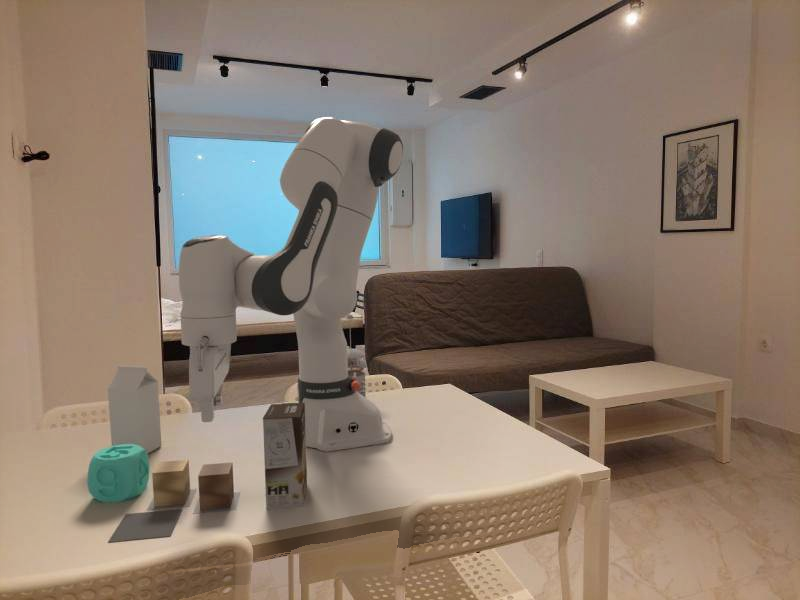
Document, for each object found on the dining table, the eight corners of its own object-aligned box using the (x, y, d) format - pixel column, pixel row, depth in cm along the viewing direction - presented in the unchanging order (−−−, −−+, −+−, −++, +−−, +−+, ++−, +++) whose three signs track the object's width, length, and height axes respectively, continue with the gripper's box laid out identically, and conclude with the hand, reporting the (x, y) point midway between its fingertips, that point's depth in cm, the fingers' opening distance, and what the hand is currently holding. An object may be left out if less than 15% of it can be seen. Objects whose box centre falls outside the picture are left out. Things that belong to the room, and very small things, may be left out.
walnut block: (234, 494, 101) (232, 462, 100) (230, 507, 96) (229, 473, 96) (204, 497, 100) (203, 464, 100) (199, 510, 95) (198, 476, 95)
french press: (330, 406, 156) (327, 316, 154) (341, 395, 168) (339, 311, 165) (364, 407, 155) (363, 317, 152) (373, 396, 166) (372, 311, 163)
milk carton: (141, 458, 120) (135, 370, 118) (112, 456, 121) (106, 369, 119) (161, 446, 127) (156, 363, 125) (133, 444, 128) (128, 362, 126)
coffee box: (303, 509, 96) (300, 417, 94) (265, 511, 95) (261, 418, 94) (307, 485, 105) (305, 401, 103) (273, 487, 105) (269, 403, 103)
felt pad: (182, 511, 96) (182, 508, 96) (170, 538, 87) (170, 535, 87) (125, 516, 94) (125, 514, 94) (108, 544, 85) (107, 541, 85)
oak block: (190, 491, 103) (188, 459, 102) (184, 504, 98) (182, 470, 97) (161, 494, 102) (159, 461, 101) (154, 506, 97) (152, 473, 96)
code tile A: (240, 493, 102) (240, 491, 102) (236, 511, 95) (236, 509, 95) (200, 497, 101) (199, 495, 101) (192, 515, 94) (192, 513, 94)
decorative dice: (151, 483, 107) (148, 442, 107) (136, 502, 100) (133, 458, 99) (106, 486, 106) (103, 444, 106) (88, 505, 99) (85, 461, 98)
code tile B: (197, 490, 104) (197, 488, 104) (189, 507, 97) (189, 506, 97) (156, 493, 103) (156, 492, 103) (146, 511, 96) (146, 509, 96)
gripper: (220, 341, 85) (223, 430, 87) (235, 323, 105) (237, 396, 107) (176, 343, 84) (180, 433, 86) (199, 324, 104) (202, 397, 106)
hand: (212, 412), depth 96 cm, fingers open, 8 cm apart
